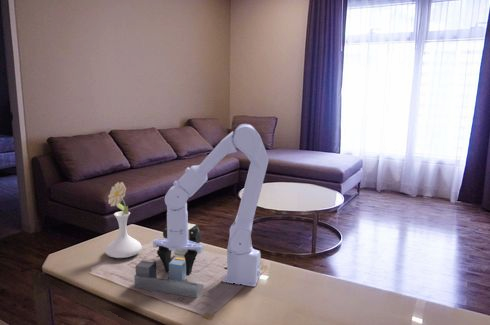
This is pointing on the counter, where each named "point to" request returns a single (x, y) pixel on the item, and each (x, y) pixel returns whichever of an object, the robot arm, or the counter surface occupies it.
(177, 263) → the block
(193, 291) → the rail
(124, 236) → the flower in vase
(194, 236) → the pneumatic valve
